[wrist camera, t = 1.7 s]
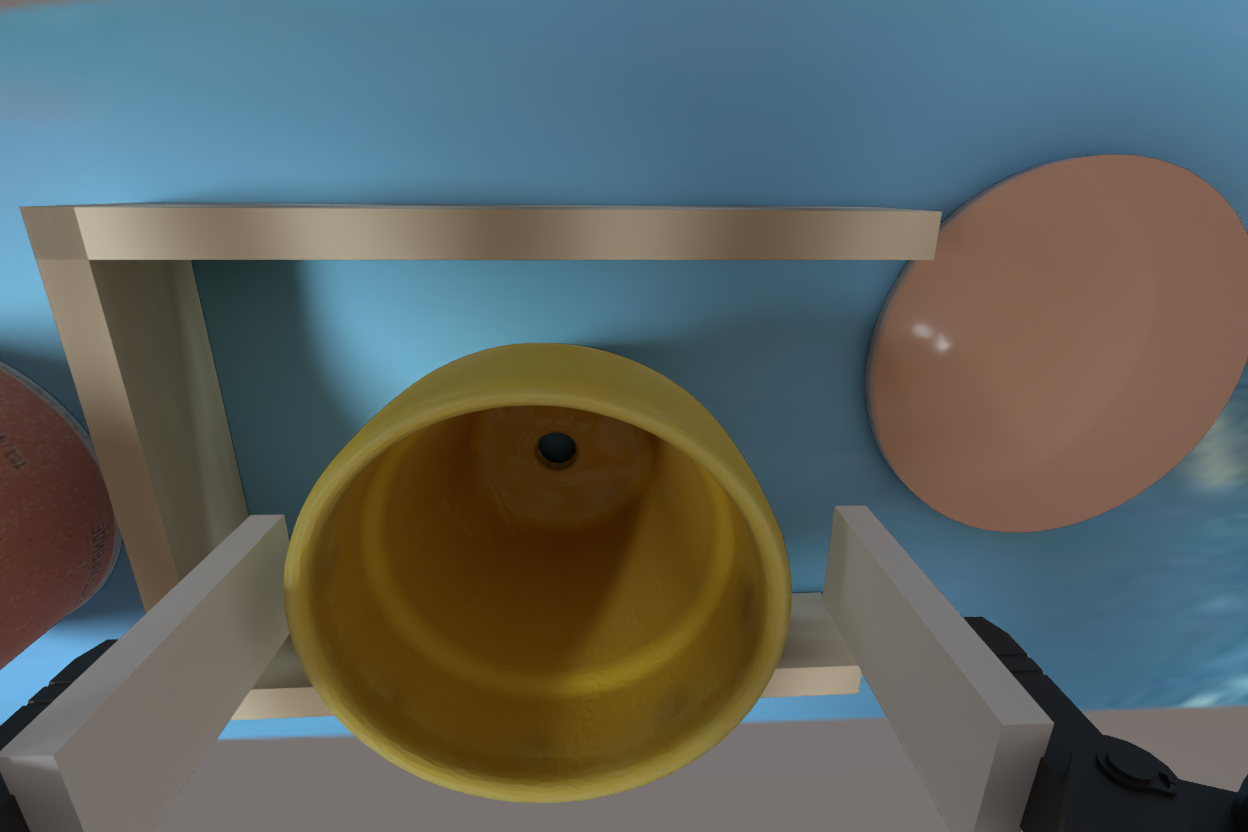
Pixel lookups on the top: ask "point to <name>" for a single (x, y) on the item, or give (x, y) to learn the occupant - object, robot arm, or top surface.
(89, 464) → the canned food
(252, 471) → the top surface
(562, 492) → the plant pot
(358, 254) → the slot cradle
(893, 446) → the disc
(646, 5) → the top surface
